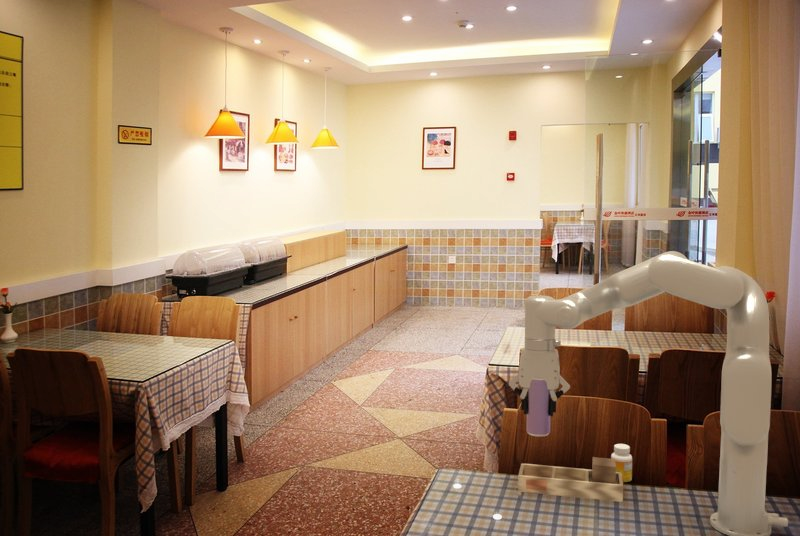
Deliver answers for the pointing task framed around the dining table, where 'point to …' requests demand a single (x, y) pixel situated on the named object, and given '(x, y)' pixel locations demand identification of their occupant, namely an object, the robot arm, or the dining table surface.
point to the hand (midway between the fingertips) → (538, 413)
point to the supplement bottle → (623, 461)
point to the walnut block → (604, 470)
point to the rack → (567, 483)
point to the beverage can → (538, 408)
